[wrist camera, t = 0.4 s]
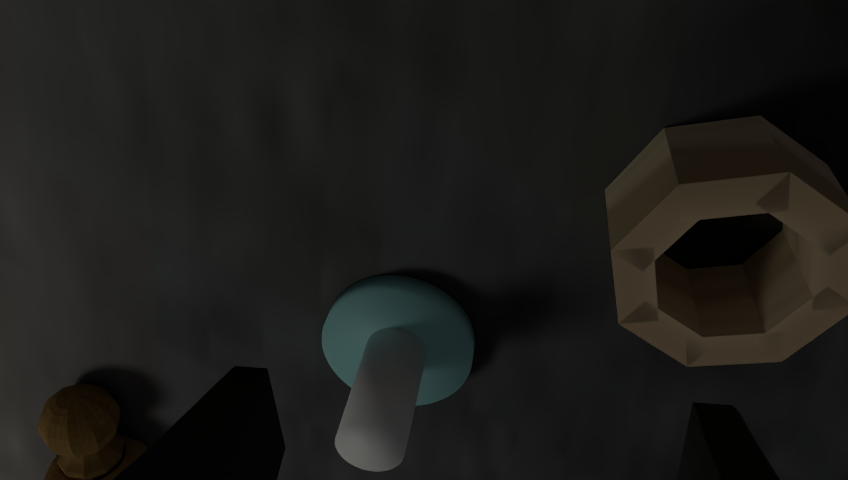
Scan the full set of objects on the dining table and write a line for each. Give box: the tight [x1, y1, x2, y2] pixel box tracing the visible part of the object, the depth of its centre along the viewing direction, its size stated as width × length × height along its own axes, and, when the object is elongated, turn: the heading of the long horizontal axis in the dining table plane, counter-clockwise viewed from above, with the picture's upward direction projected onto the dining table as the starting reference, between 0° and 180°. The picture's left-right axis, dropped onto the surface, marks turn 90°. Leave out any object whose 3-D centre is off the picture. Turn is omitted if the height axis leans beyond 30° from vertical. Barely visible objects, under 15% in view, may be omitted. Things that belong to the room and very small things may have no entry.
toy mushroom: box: [322, 275, 475, 471], centre depth 22 cm, size 5×5×5 cm
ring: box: [605, 115, 848, 367], centre depth 19 cm, size 6×6×3 cm
